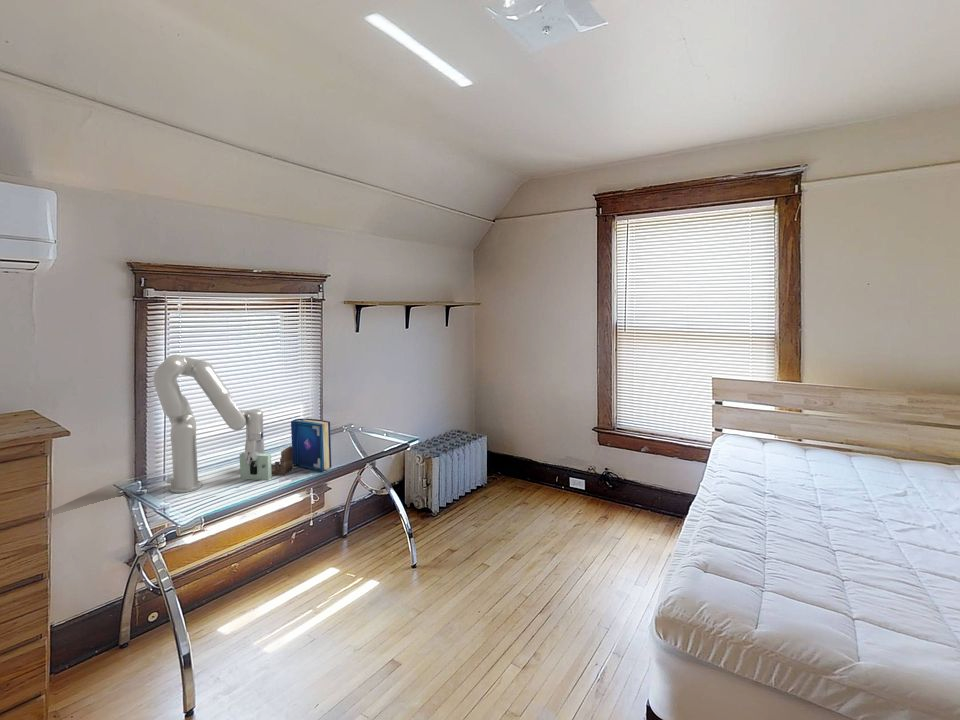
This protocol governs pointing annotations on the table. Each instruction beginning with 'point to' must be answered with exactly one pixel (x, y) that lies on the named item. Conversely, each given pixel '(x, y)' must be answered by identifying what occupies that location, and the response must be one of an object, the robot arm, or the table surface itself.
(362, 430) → the table surface
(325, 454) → the book
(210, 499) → the table surface
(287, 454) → the brown wooden holder
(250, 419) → the robot arm
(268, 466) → the door
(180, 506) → the table surface
